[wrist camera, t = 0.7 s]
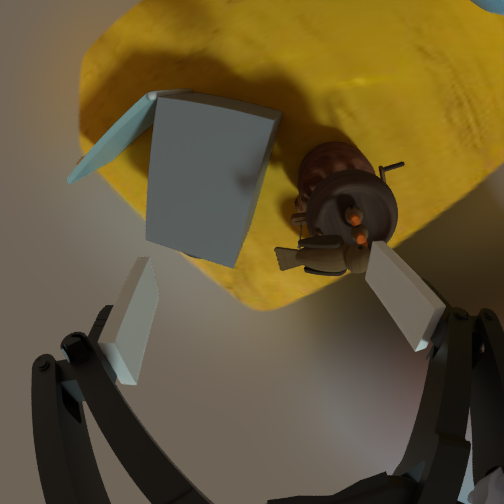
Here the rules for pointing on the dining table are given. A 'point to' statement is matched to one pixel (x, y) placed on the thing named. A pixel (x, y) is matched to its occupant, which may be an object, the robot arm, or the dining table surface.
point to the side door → (122, 133)
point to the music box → (339, 211)
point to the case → (207, 173)
